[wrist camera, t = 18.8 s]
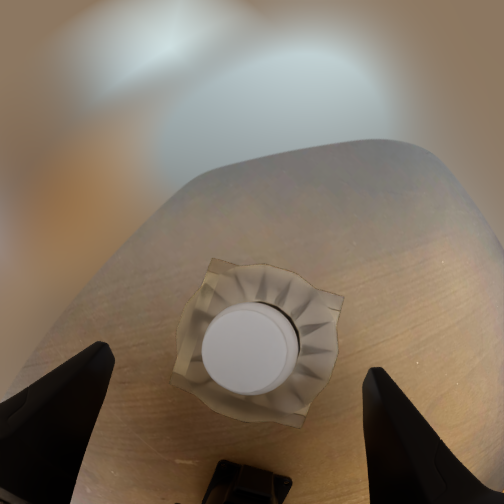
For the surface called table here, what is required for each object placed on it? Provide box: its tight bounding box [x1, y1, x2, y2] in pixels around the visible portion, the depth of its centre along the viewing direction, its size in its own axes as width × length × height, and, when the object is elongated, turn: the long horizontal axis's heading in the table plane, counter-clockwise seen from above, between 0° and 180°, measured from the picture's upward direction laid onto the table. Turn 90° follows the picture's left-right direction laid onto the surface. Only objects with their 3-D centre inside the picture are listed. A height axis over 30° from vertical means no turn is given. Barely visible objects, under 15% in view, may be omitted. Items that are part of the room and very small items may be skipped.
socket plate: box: [169, 258, 344, 429], centre depth 20 cm, size 11×11×3 cm
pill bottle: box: [202, 302, 298, 395], centre depth 17 cm, size 5×5×10 cm
